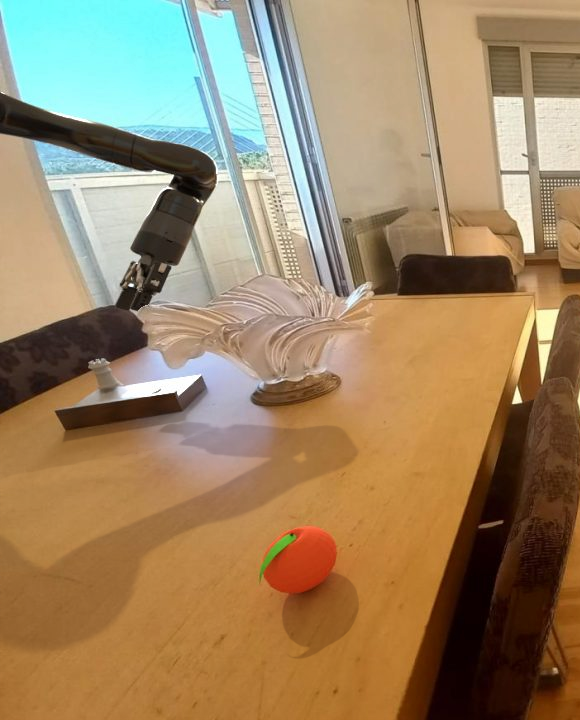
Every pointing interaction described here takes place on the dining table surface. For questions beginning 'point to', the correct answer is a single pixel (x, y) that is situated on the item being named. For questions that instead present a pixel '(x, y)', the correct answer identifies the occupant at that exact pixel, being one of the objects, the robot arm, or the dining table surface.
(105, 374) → the rook chess piece
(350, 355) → the dining table surface
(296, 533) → the clementine
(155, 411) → the shelf
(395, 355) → the dining table surface
